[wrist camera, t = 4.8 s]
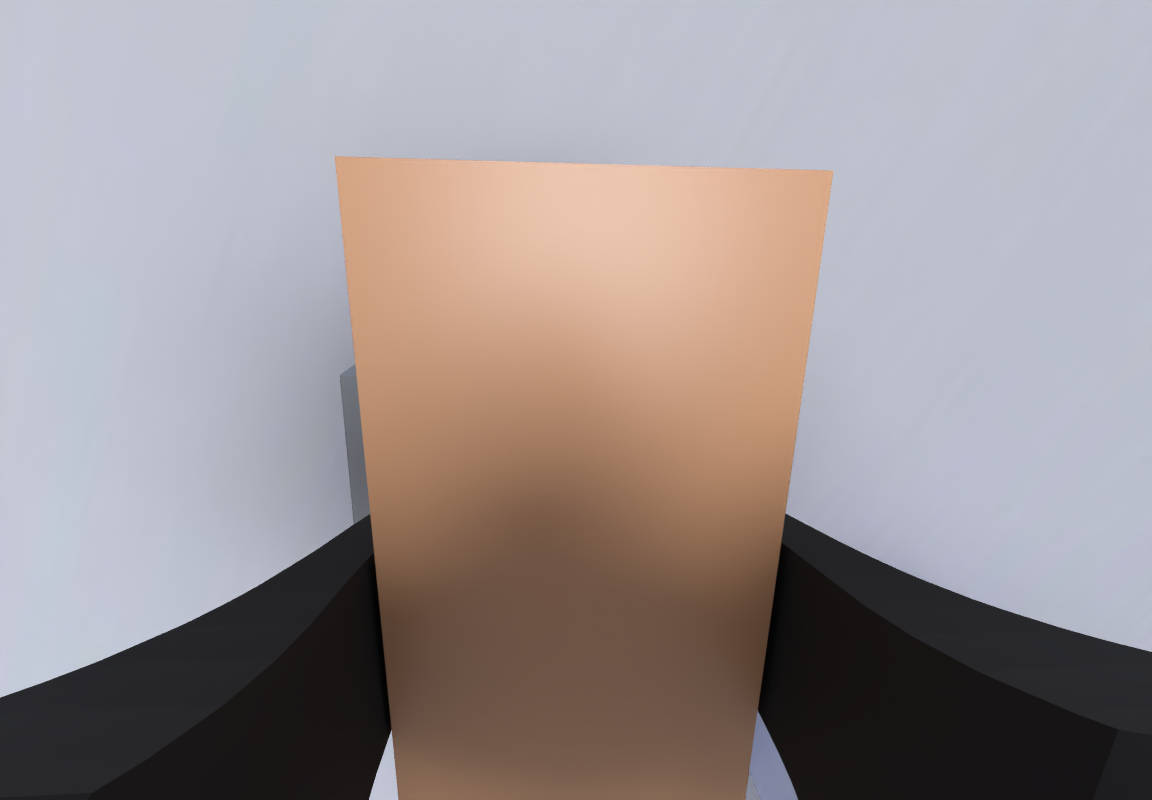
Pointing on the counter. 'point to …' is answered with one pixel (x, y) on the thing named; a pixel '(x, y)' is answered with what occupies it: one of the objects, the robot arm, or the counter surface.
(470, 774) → the tan rectangular plank
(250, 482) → the counter surface
